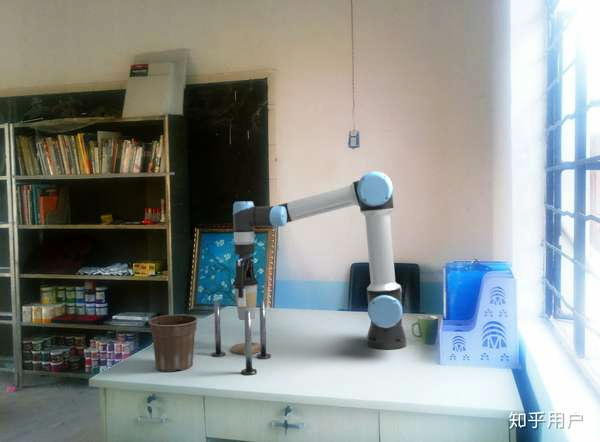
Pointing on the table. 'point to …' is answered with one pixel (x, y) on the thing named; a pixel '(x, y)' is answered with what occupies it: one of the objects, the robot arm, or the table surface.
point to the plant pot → (173, 341)
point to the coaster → (241, 348)
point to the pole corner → (263, 332)
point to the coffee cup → (248, 297)
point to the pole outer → (248, 346)
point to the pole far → (217, 331)
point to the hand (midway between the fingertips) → (246, 303)
